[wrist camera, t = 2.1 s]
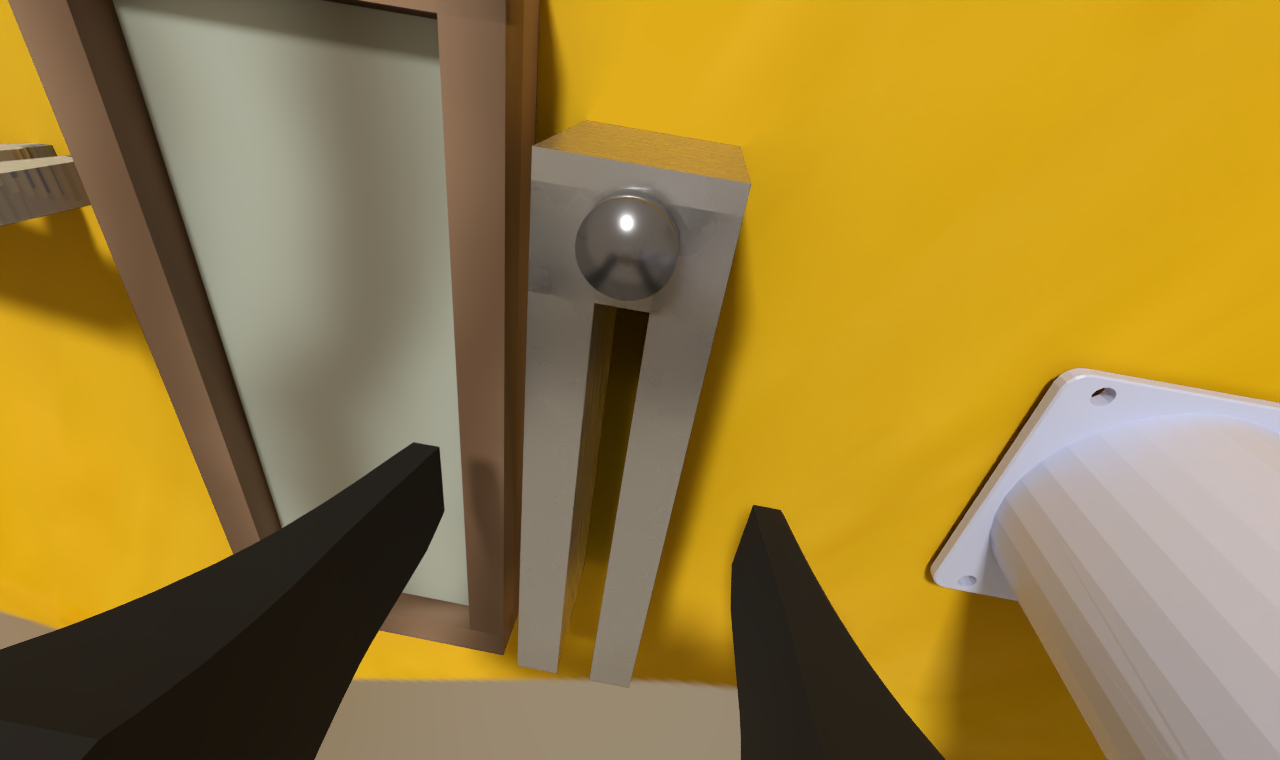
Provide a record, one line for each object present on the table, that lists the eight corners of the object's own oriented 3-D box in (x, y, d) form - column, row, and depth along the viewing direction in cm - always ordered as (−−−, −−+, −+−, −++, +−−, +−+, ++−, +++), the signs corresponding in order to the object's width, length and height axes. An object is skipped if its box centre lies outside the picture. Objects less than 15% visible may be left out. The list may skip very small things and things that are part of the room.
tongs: (740, 146, 11) (753, 192, 7) (643, 575, 19) (626, 708, 15) (585, 120, 11) (520, 151, 8) (552, 557, 19) (510, 685, 15)
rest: (540, -45, 10) (505, -67, 8) (520, 606, 21) (503, 654, 19) (71, -121, 10) (-57, -157, 9) (290, 561, 21) (254, 605, 19)
